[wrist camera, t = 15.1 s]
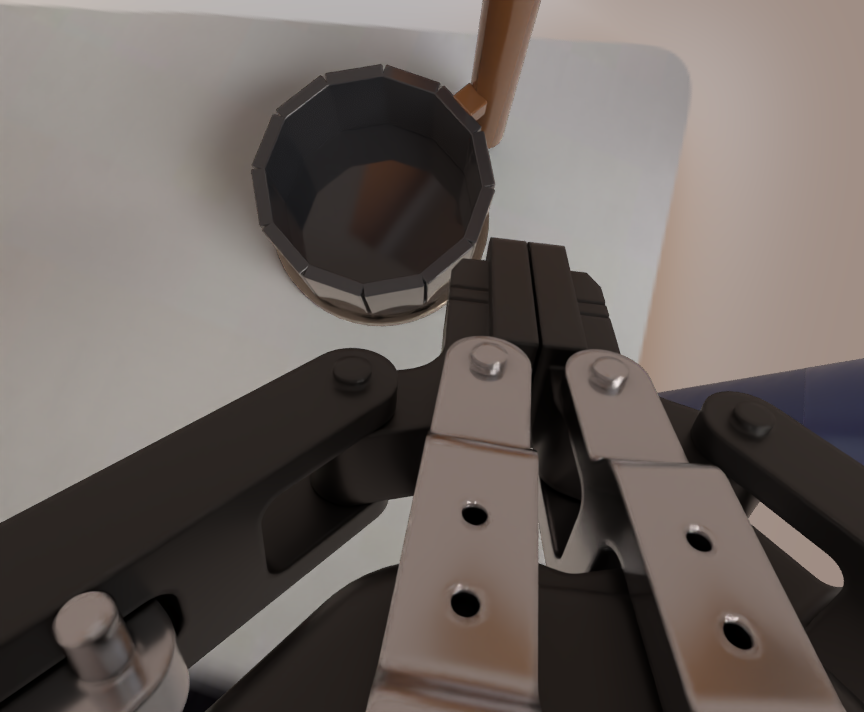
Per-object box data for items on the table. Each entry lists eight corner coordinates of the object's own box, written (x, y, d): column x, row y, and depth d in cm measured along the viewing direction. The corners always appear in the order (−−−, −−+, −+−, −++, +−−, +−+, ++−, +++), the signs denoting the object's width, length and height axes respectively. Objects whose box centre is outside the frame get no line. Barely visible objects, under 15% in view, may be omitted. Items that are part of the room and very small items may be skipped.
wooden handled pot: (367, 357, 29) (329, 303, 17) (238, 205, 30) (111, 47, 17) (563, 193, 30) (661, 30, 18) (434, 51, 31) (443, -196, 19)
